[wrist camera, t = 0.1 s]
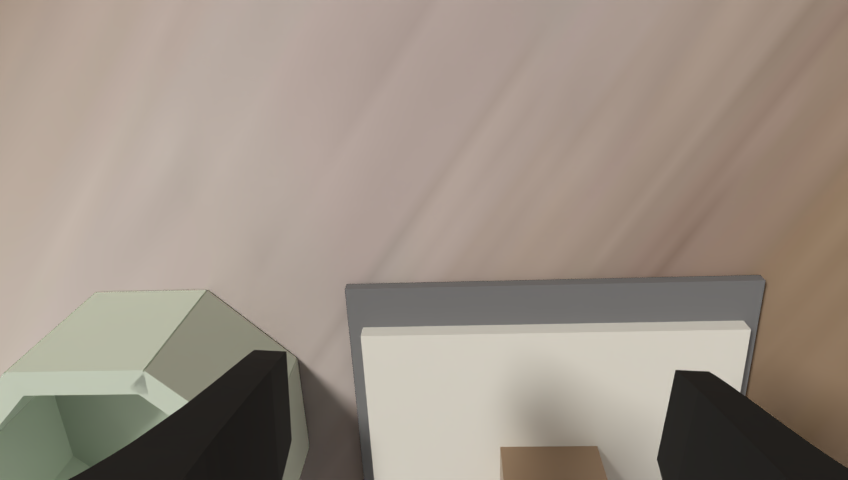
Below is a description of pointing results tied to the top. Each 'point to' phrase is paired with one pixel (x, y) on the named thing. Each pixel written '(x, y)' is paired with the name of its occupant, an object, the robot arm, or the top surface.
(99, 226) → the top surface
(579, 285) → the charcoal mat
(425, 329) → the cover sheet
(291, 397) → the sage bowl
